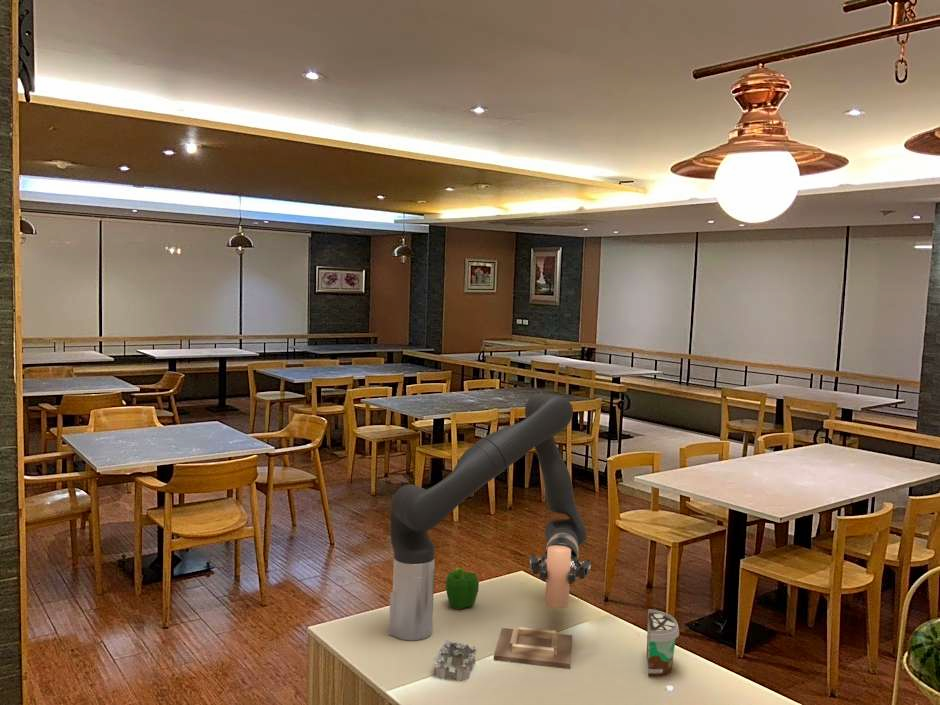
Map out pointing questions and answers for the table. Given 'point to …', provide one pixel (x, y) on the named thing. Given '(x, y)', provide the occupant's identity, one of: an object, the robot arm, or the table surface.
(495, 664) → the table surface
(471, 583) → the bell pepper
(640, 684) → the table surface
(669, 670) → the food container
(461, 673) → the egg carton
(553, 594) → the terracotta pin
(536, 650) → the board
